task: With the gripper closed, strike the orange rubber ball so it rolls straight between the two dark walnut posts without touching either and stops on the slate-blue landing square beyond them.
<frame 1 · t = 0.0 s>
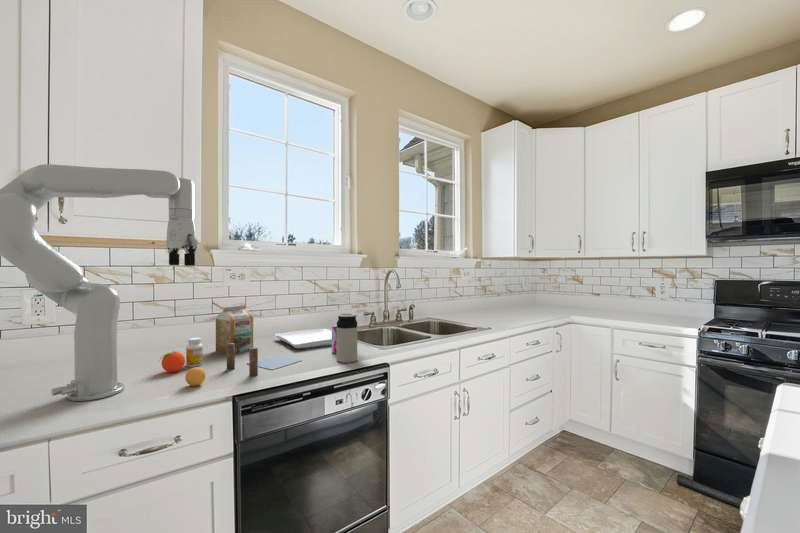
hand: (181, 265, 125), 37 cm above the countertop, tool pointing down, fingers open, 9 cm apart
left post: (230, 369, 130), on the countertop
square plate: (311, 343, 174), on the countertop
supplement box: (340, 353, 154), on the countertop
ball: (195, 376, 113), on the countertop
supplement bottle: (194, 365, 135), on the countertop
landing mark: (274, 362, 138), on the countertop
tomato: (171, 372, 126), on the countertop
travel mug: (346, 361, 142), on the countertop
milk carton: (234, 351, 156), on the countertop
right post: (253, 375, 123), on the countertop
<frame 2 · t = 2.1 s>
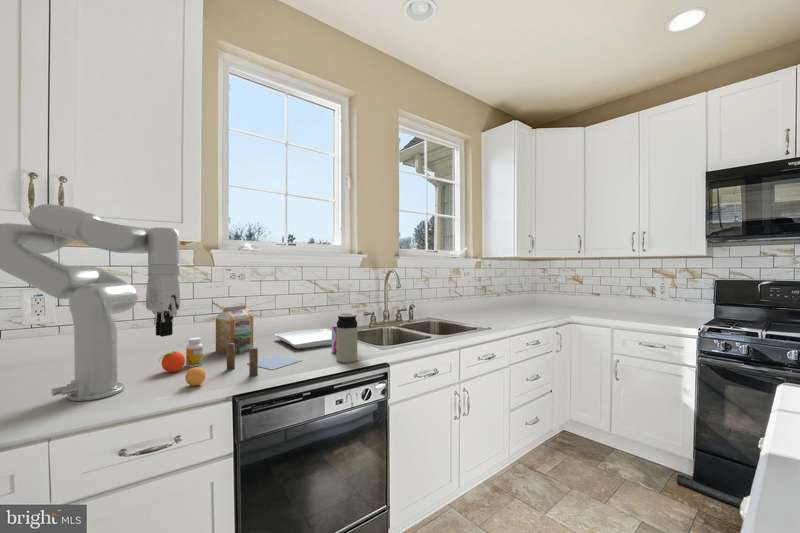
hand: (164, 334, 105), 17 cm above the countertop, tool pointing down, fingers closed
nothing on the countertop moved.
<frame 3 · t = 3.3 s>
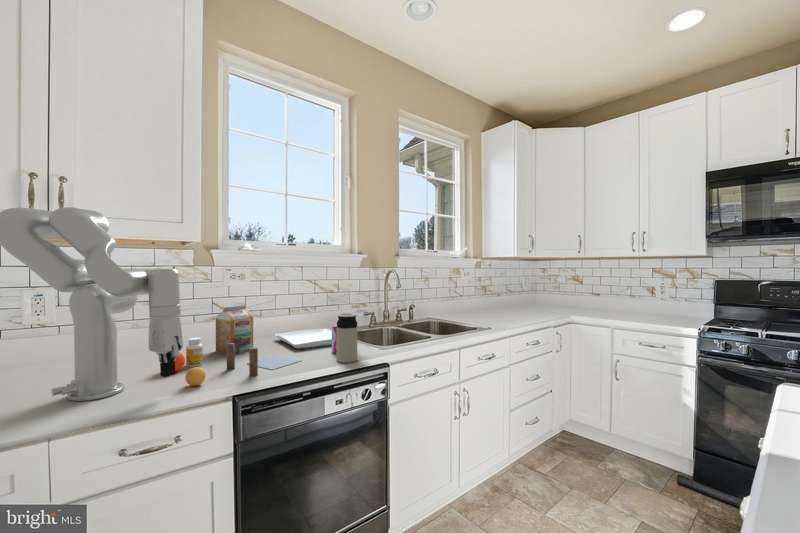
hand: (168, 375, 105), 5 cm above the countertop, tool pointing down, fingers closed
nothing on the countertop moved.
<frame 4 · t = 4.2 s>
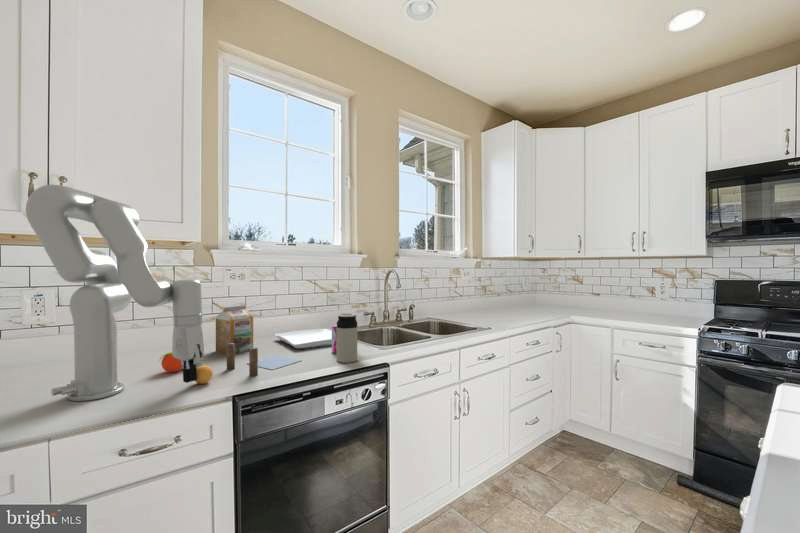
hand: (190, 380, 111), 2 cm above the countertop, tool pointing down, fingers closed
ball: (202, 374, 115), on the countertop
everything else where it was.
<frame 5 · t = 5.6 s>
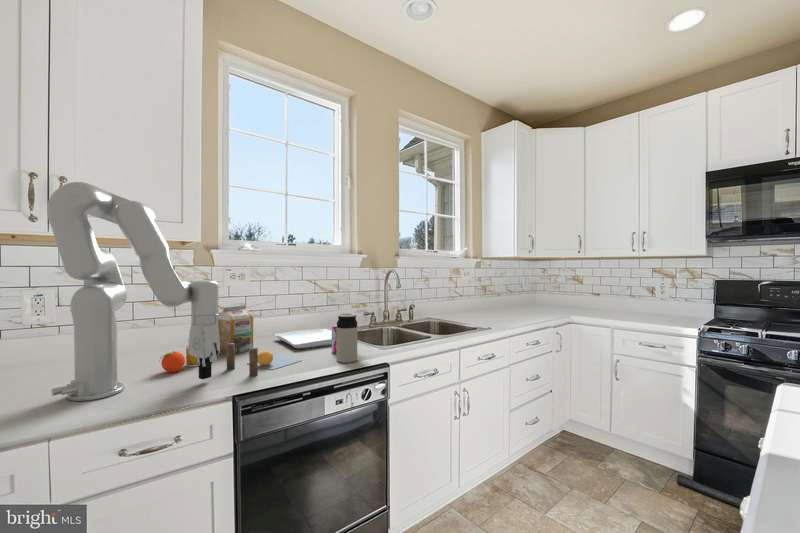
hand: (205, 377, 115), 2 cm above the countertop, tool pointing down, fingers closed
ball: (265, 358, 134), on the countertop
everything else where it was.
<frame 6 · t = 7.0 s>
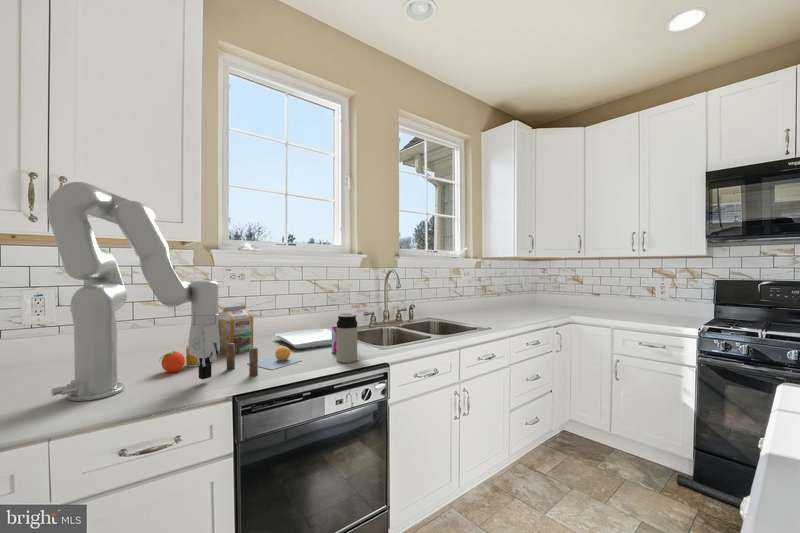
hand: (205, 377, 115), 2 cm above the countertop, tool pointing down, fingers closed
ball: (282, 353, 141), on the countertop
everything else where it was.
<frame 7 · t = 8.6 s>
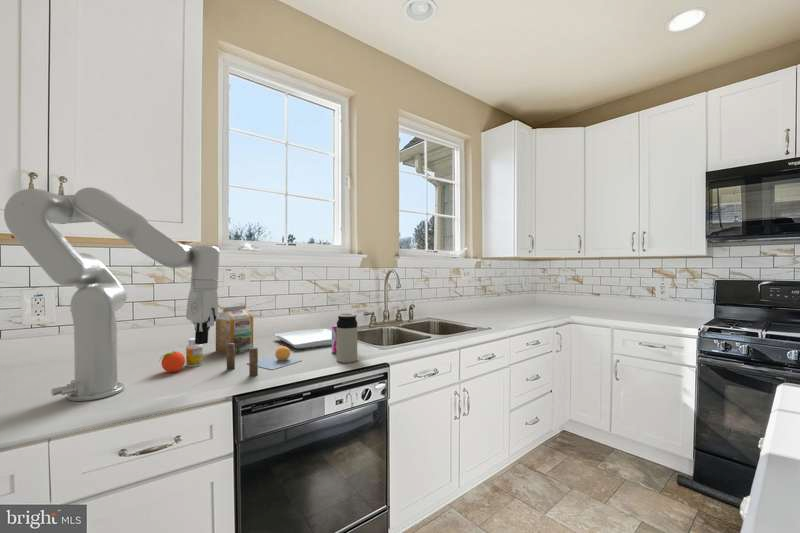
hand: (201, 343, 115), 12 cm above the countertop, tool pointing down, fingers closed
nothing on the countertop moved.
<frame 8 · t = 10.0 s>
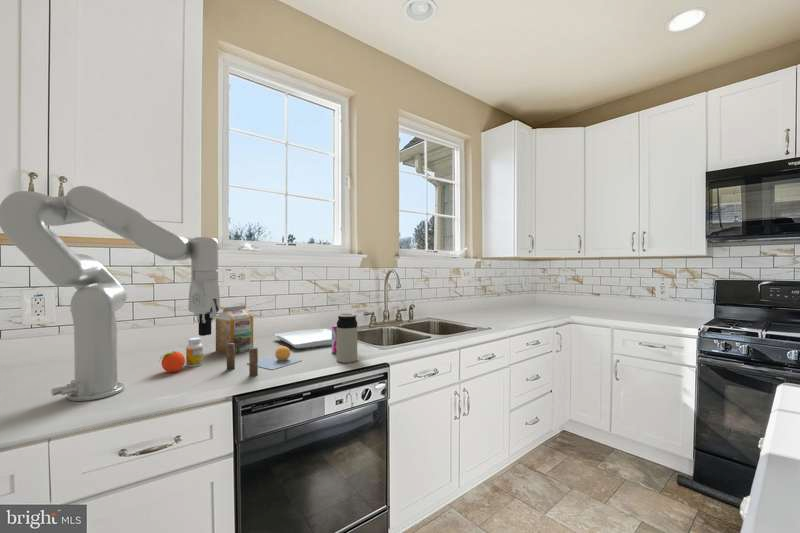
hand: (205, 334, 115), 15 cm above the countertop, tool pointing down, fingers closed
nothing on the countertop moved.
at the end: ball 3.4 cm from the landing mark (horizontally); ball never touched left post; ball never touched right post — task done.
